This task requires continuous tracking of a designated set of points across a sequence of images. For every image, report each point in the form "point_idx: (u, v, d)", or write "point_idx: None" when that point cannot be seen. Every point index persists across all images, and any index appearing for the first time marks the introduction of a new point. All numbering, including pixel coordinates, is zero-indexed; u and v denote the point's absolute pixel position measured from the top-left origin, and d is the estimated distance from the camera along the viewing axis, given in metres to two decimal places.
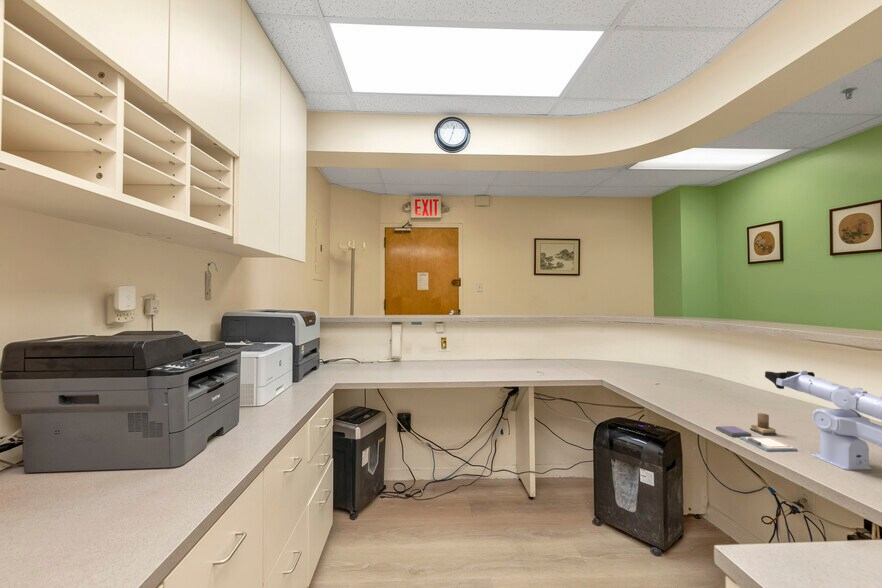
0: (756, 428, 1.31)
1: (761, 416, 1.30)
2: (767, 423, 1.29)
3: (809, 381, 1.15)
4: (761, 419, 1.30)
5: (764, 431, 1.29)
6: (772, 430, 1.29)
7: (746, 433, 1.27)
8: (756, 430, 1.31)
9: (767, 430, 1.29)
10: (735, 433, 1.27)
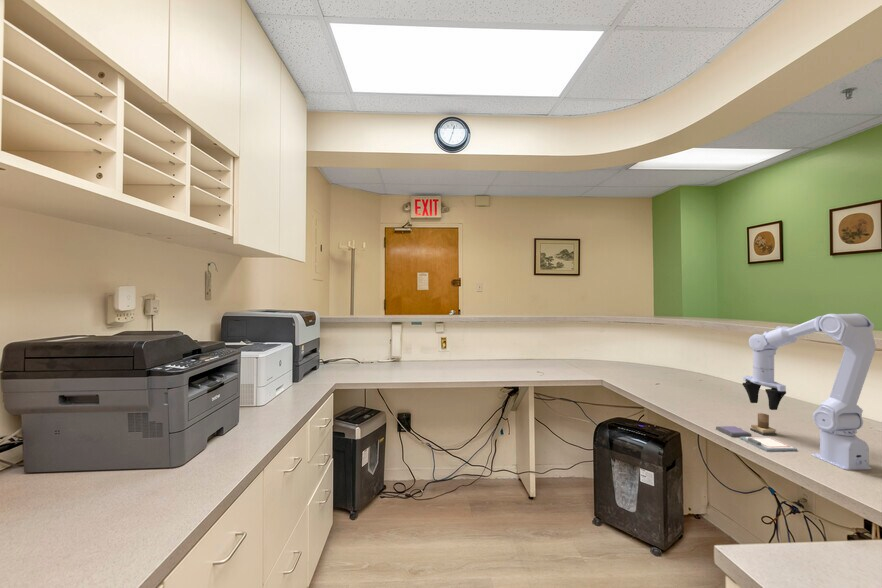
0: (756, 428, 1.31)
1: (761, 416, 1.30)
2: (767, 423, 1.29)
3: (764, 371, 1.29)
4: (761, 419, 1.30)
5: (764, 431, 1.29)
6: (772, 430, 1.29)
7: (746, 433, 1.27)
8: (756, 430, 1.31)
9: (767, 430, 1.29)
10: (735, 433, 1.27)
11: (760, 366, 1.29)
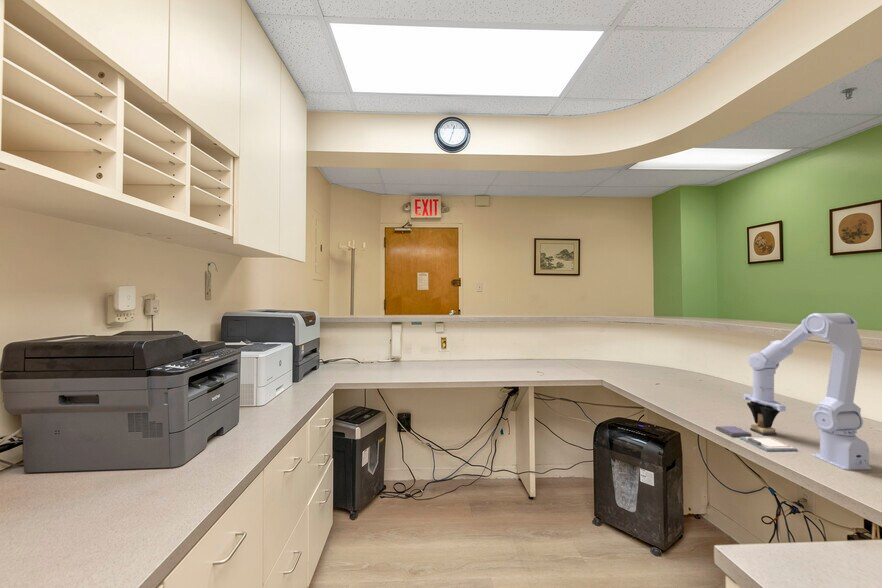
0: (756, 428, 1.31)
1: (761, 416, 1.30)
2: None
3: (764, 390, 1.29)
4: (761, 419, 1.30)
5: (764, 431, 1.29)
6: (772, 430, 1.29)
7: (746, 433, 1.27)
8: (756, 430, 1.31)
9: (767, 430, 1.29)
10: (735, 433, 1.27)
11: (760, 385, 1.29)
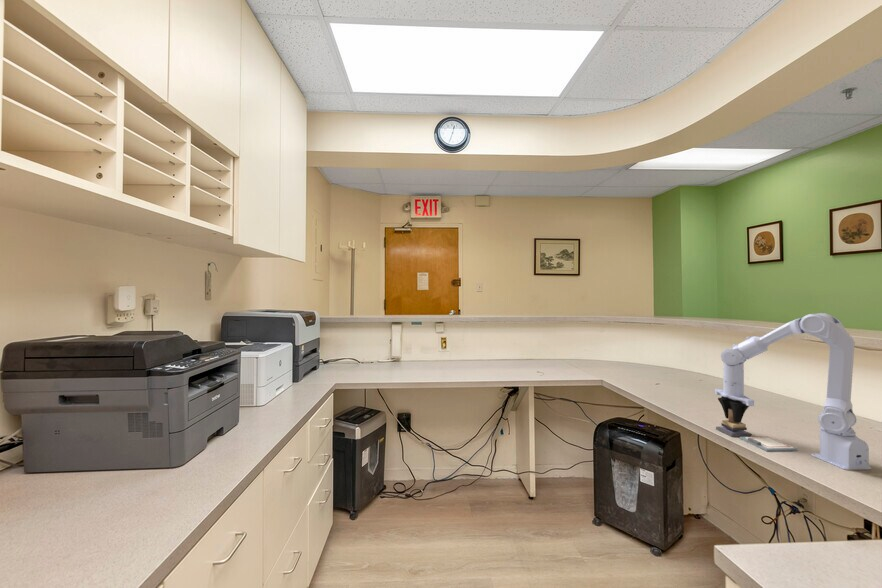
0: (727, 423, 1.31)
1: (731, 411, 1.30)
2: None
3: (733, 385, 1.28)
4: (731, 414, 1.30)
5: (734, 426, 1.28)
6: (742, 425, 1.28)
7: (746, 433, 1.27)
8: (726, 425, 1.31)
9: (737, 425, 1.28)
10: (735, 433, 1.27)
11: (734, 381, 1.28)
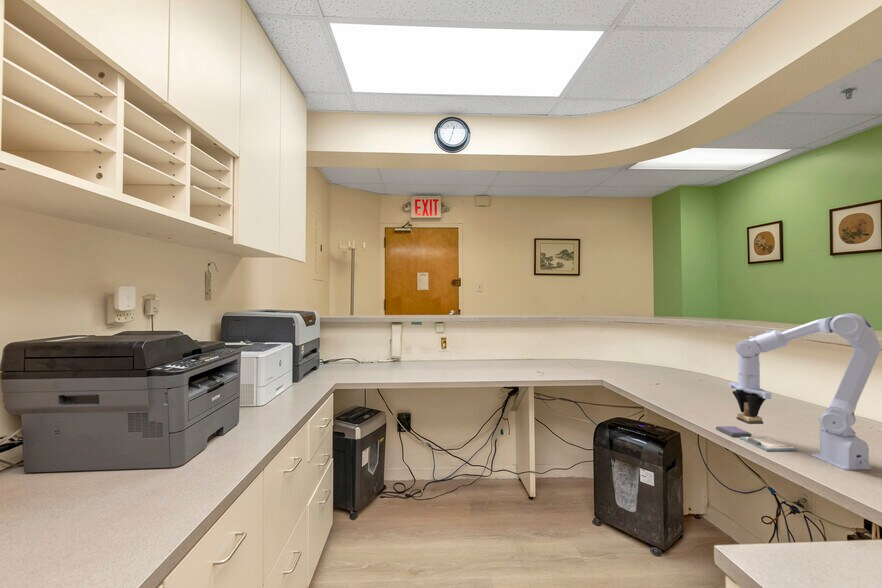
0: (742, 416, 1.26)
1: (747, 404, 1.25)
2: None
3: (749, 377, 1.24)
4: (747, 407, 1.25)
5: (750, 419, 1.24)
6: (758, 418, 1.24)
7: (746, 433, 1.27)
8: (742, 418, 1.26)
9: (753, 418, 1.24)
10: (735, 433, 1.27)
11: (750, 373, 1.24)
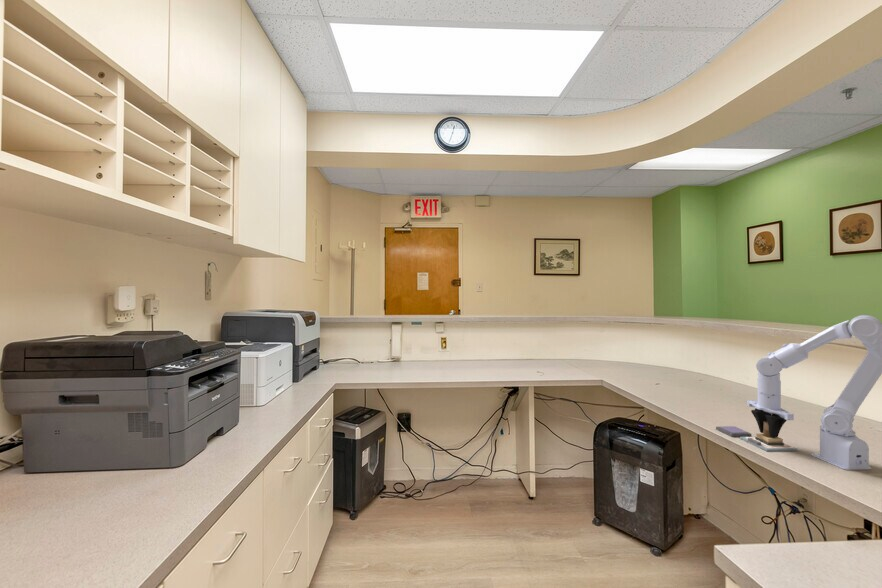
0: (761, 437, 1.21)
1: (767, 424, 1.20)
2: None
3: (769, 397, 1.18)
4: (766, 428, 1.20)
5: (770, 441, 1.18)
6: (779, 440, 1.18)
7: (746, 433, 1.27)
8: (761, 439, 1.21)
9: (773, 439, 1.18)
10: (735, 433, 1.27)
11: (772, 392, 1.18)
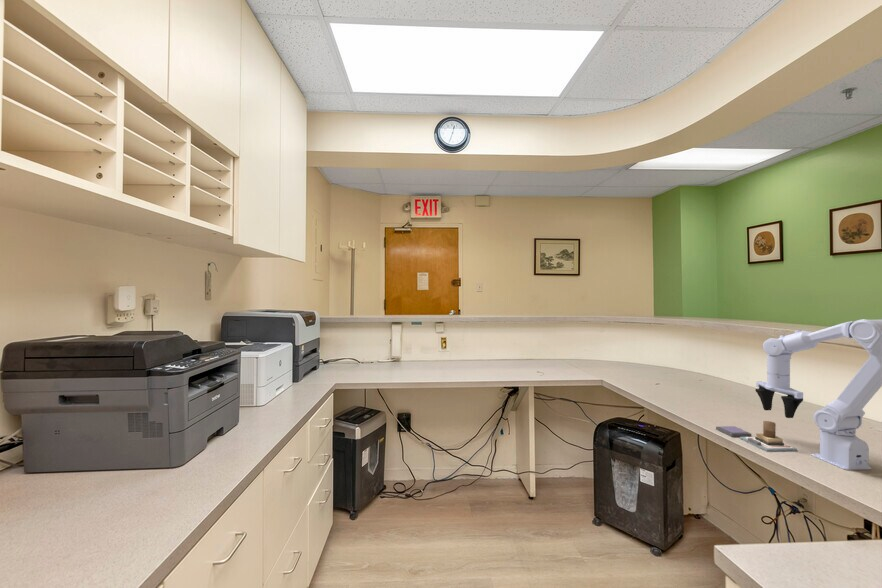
0: (761, 437, 1.21)
1: (767, 424, 1.20)
2: (774, 431, 1.19)
3: (779, 377, 1.22)
4: (766, 428, 1.20)
5: (770, 441, 1.18)
6: (779, 440, 1.18)
7: (746, 433, 1.27)
8: (761, 439, 1.21)
9: (773, 439, 1.18)
10: (735, 433, 1.27)
11: (776, 372, 1.22)
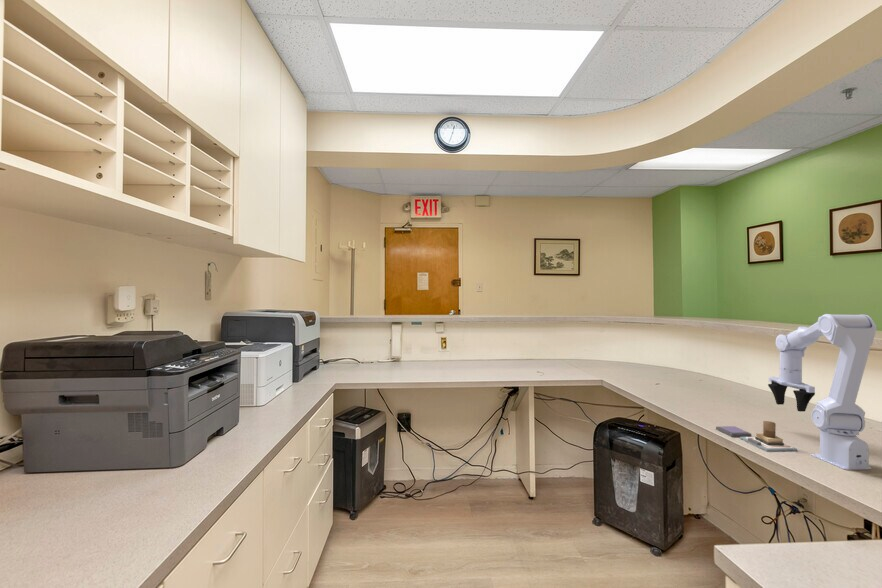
0: (761, 437, 1.21)
1: (767, 424, 1.20)
2: (774, 431, 1.19)
3: (791, 372, 1.27)
4: (766, 428, 1.20)
5: (770, 441, 1.18)
6: (779, 440, 1.18)
7: (746, 433, 1.27)
8: (761, 439, 1.21)
9: (773, 439, 1.18)
10: (735, 433, 1.27)
11: (784, 366, 1.29)
